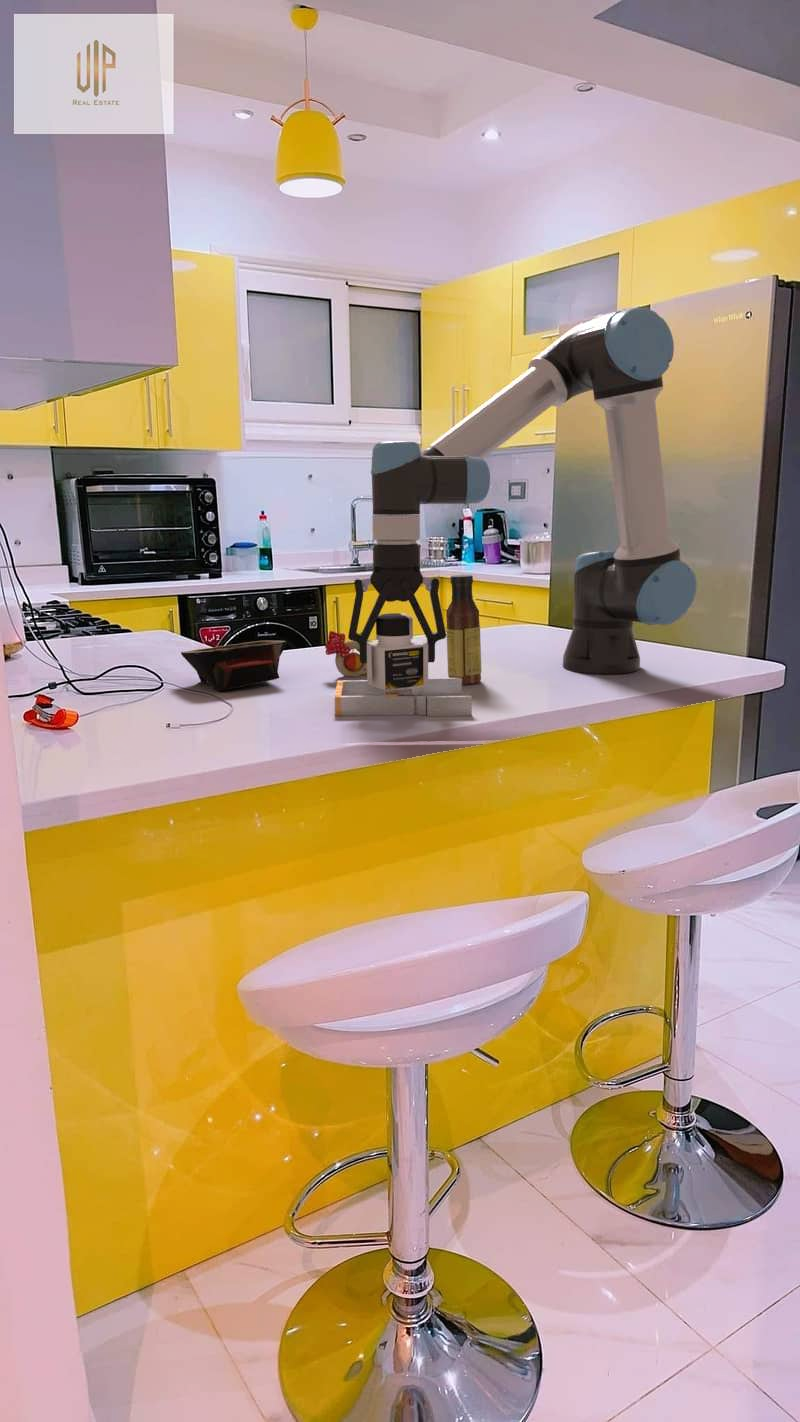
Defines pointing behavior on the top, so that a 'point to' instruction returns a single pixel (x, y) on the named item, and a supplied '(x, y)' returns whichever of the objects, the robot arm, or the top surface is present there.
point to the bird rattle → (345, 655)
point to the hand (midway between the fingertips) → (397, 682)
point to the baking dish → (237, 663)
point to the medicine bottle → (396, 654)
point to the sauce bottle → (463, 632)
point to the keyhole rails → (403, 699)
